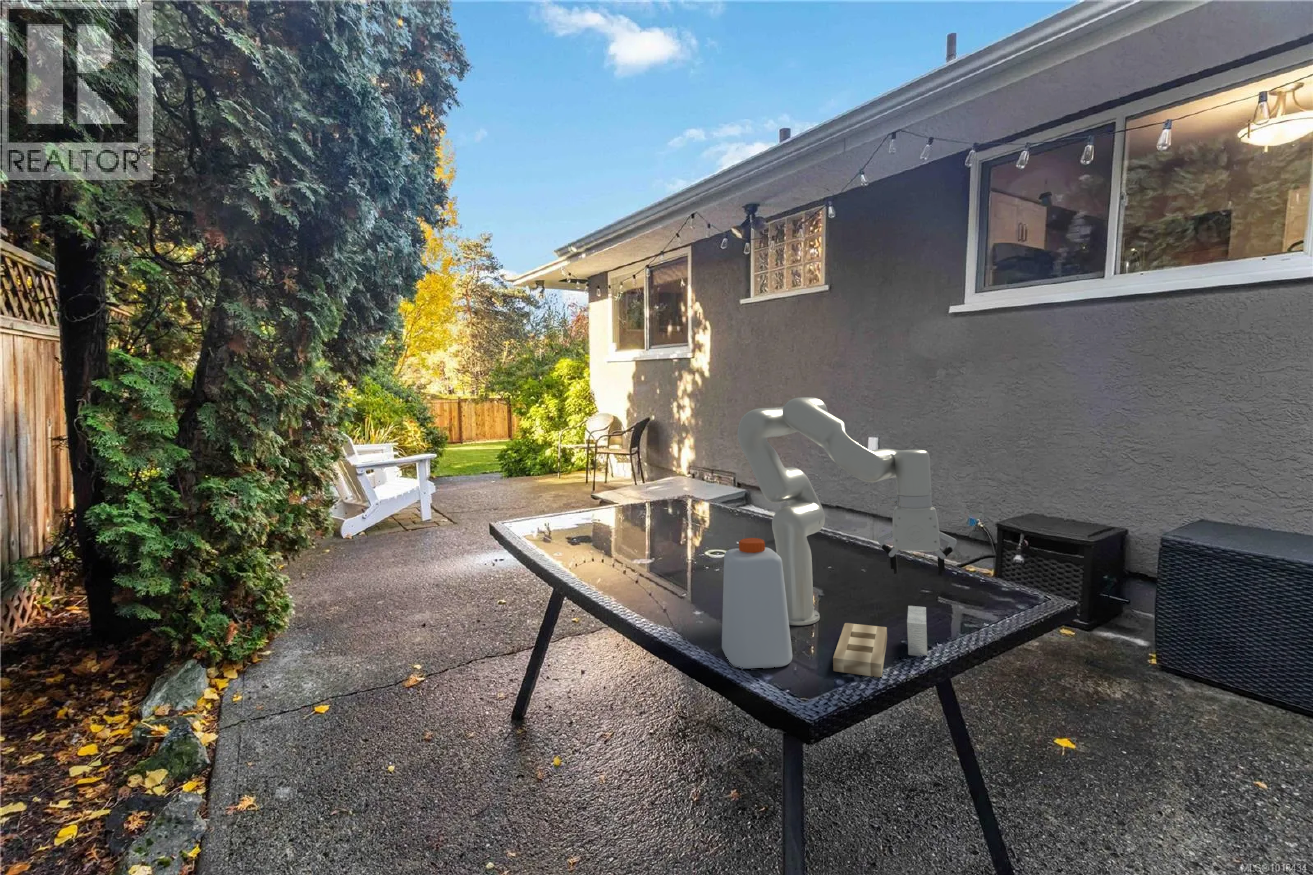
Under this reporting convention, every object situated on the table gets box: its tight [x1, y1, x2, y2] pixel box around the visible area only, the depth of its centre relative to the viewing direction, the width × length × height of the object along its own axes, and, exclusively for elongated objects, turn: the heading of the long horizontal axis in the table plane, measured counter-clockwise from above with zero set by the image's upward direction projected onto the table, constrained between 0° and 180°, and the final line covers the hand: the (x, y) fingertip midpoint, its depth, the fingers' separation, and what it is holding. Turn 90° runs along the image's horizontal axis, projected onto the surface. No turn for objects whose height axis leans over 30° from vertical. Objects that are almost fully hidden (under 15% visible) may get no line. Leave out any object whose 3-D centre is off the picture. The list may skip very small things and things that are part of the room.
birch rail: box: [832, 622, 888, 678], centre depth 136 cm, size 10×22×3 cm, turn 155°
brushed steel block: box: [906, 605, 928, 657], centre depth 138 cm, size 4×12×8 cm, turn 155°
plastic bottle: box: [721, 537, 793, 669], centre depth 137 cm, size 15×15×28 cm
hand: (917, 573), depth 137 cm, fingers open, 9 cm apart
